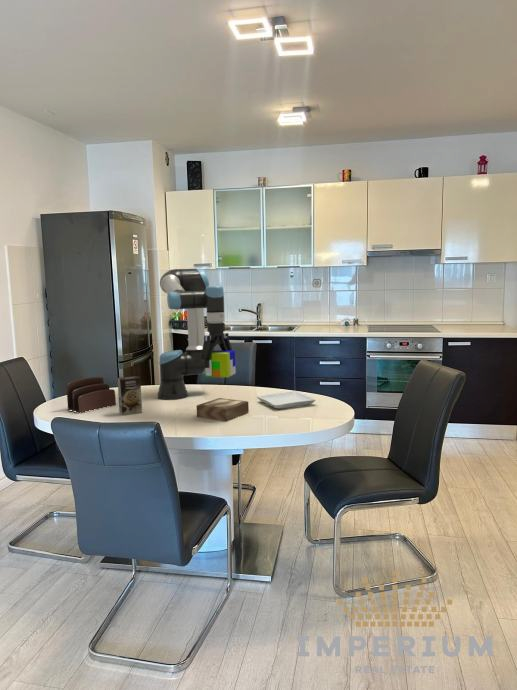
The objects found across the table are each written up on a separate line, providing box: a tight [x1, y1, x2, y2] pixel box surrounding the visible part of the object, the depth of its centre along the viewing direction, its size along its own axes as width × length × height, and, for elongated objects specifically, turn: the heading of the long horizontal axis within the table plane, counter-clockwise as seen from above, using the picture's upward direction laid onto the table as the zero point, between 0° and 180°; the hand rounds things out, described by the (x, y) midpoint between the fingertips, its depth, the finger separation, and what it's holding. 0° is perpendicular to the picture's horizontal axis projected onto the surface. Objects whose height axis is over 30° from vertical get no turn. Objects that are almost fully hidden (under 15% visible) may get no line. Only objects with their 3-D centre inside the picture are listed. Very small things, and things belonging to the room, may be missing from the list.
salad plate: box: [256, 390, 316, 410], centre depth 238 cm, size 21×21×3 cm
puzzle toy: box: [204, 349, 237, 378], centre depth 218 cm, size 10×10×10 cm
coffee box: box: [117, 375, 143, 416], centre depth 229 cm, size 9×6×16 cm
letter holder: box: [65, 376, 117, 414], centre depth 240 cm, size 10×20×14 cm, turn 141°
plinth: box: [196, 397, 250, 422], centre depth 221 cm, size 16×16×5 cm
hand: (218, 373), depth 218 cm, fingers closed on puzzle toy, 11 cm apart
